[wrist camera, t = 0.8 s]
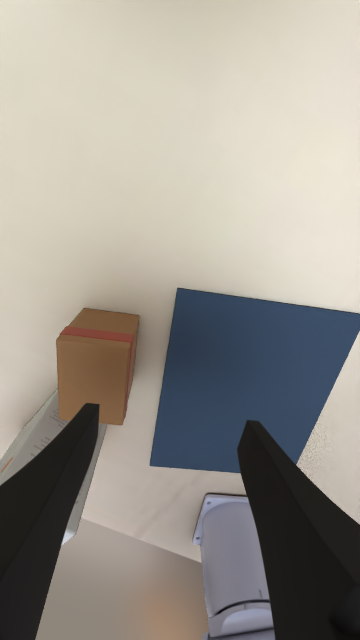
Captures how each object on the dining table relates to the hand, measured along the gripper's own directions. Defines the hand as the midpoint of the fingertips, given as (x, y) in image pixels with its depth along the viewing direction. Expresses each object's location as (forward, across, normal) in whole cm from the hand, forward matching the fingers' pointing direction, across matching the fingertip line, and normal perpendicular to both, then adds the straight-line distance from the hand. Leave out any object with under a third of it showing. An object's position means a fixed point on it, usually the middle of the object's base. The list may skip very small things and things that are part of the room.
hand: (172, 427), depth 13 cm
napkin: (+10, -8, +6) cm, 14 cm away
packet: (+10, +5, +2) cm, 12 cm away
